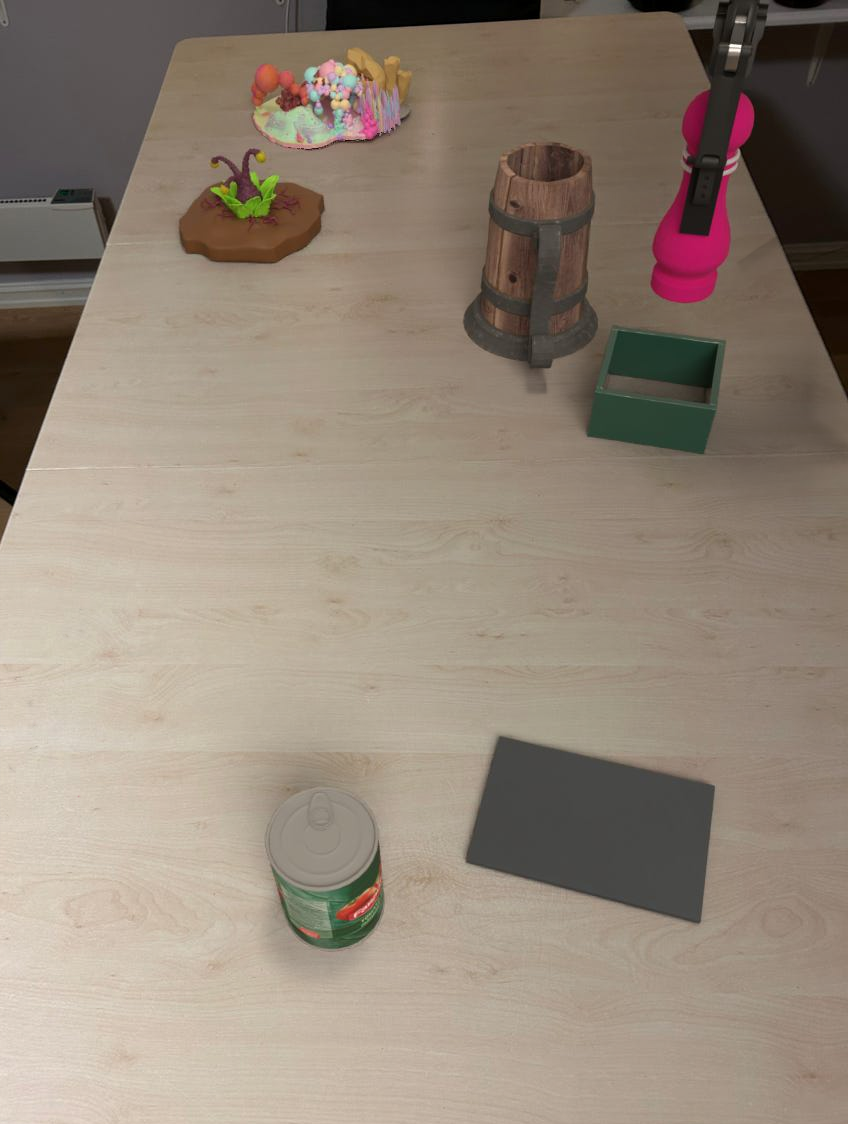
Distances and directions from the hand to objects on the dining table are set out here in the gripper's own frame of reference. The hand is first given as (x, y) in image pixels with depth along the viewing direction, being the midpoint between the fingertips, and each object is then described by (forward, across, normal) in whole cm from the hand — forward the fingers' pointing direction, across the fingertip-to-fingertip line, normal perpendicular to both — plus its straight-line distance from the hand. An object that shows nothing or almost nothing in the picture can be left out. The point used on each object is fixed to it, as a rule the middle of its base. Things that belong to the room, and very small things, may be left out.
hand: (697, 216), depth 92 cm
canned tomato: (+23, +66, -16) cm, 71 cm away
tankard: (+23, -12, -16) cm, 31 cm away
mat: (+23, +54, +2) cm, 58 cm away
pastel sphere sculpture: (+23, -64, -60) cm, 91 cm away
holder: (+23, 0, 0) cm, 23 cm away
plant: (+23, -28, -60) cm, 71 cm away
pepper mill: (+7, 0, 0) cm, 7 cm away
